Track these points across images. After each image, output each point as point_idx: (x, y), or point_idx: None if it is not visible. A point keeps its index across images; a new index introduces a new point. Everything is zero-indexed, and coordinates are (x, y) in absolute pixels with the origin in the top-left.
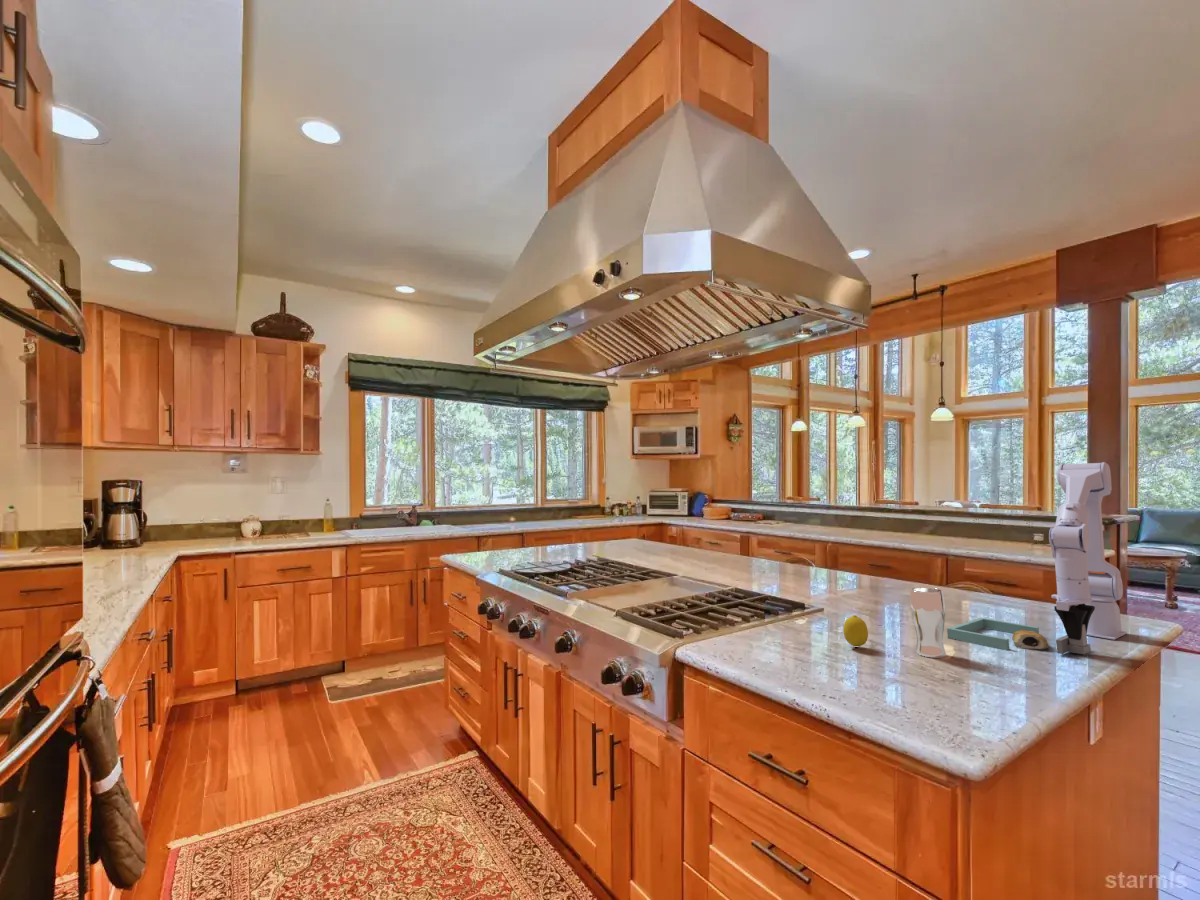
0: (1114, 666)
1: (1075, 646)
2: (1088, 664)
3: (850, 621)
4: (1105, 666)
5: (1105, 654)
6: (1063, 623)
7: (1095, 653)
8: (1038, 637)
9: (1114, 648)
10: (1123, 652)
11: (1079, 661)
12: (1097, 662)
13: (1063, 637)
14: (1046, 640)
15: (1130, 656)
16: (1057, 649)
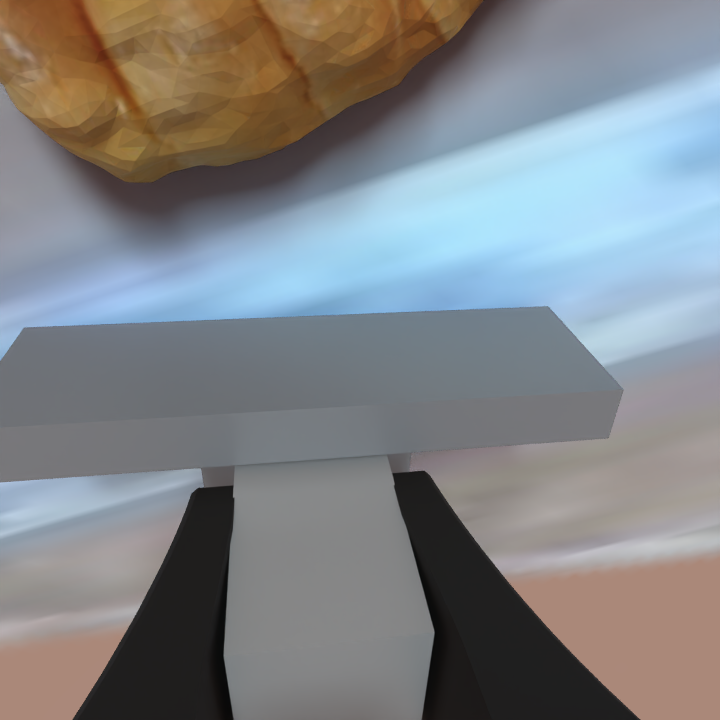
0: None
1: (206, 473)
2: (7, 539)
3: None
4: (80, 599)
5: (461, 497)
6: (92, 693)
7: (438, 455)
8: (32, 118)
9: (711, 469)
10: (614, 529)
11: (28, 482)
12: (144, 546)
13: (202, 435)
14: (288, 139)
15: (521, 576)
16: (7, 357)
